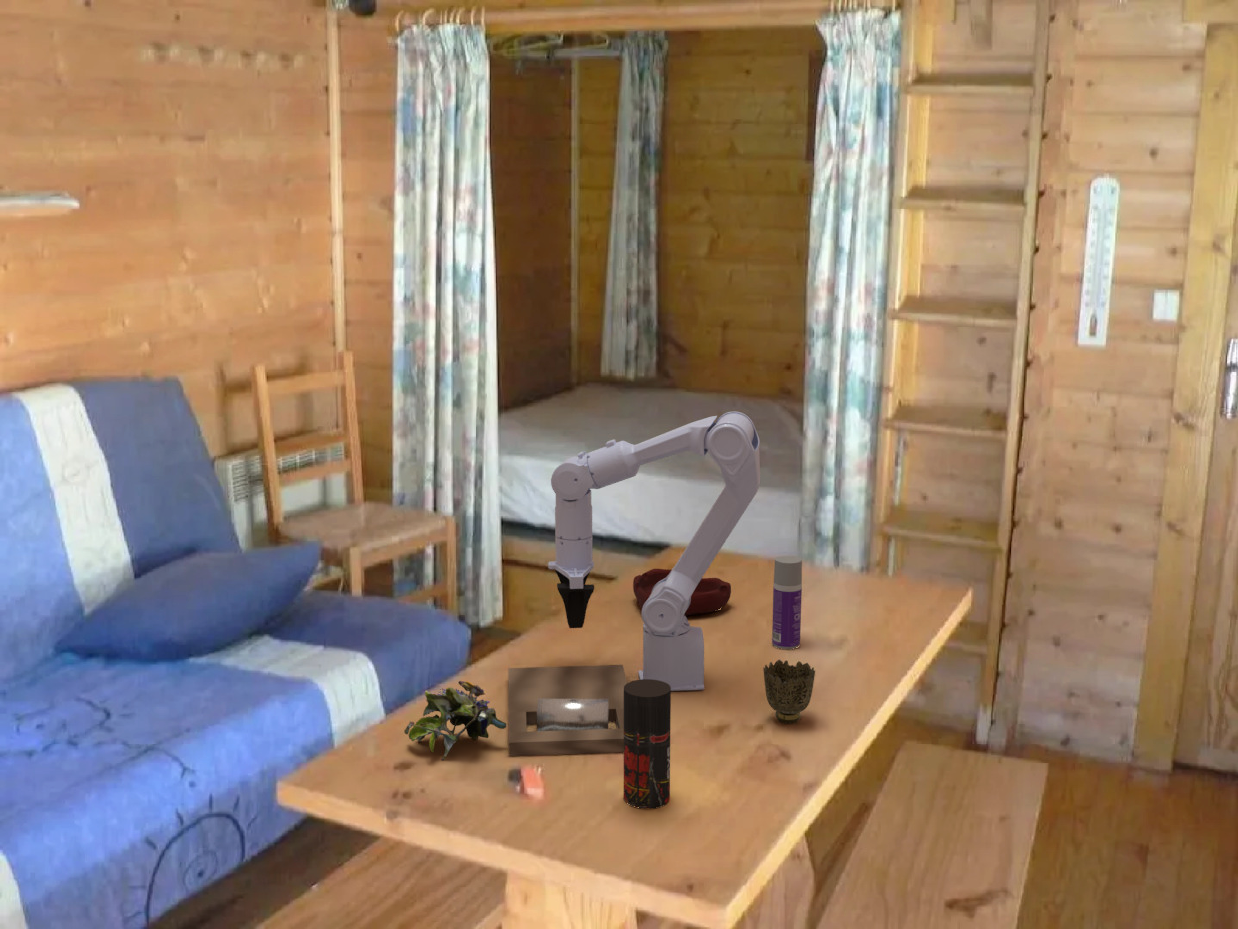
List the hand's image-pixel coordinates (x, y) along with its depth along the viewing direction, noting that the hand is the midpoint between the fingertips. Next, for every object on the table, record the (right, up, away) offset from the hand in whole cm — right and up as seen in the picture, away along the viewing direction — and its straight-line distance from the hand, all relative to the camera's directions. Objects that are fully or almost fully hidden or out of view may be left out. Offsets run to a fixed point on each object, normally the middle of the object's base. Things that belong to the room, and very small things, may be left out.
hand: (574, 619), depth 214 cm
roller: (0, -12, -20) cm, 23 cm away
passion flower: (-16, -15, -25) cm, 33 cm away
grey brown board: (0, -12, -13) cm, 18 cm away
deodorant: (+10, -19, -39) cm, 45 cm away
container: (+35, -6, +16) cm, 39 cm away
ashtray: (+17, -2, +34) cm, 38 cm away
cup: (+31, -13, -15) cm, 37 cm away
